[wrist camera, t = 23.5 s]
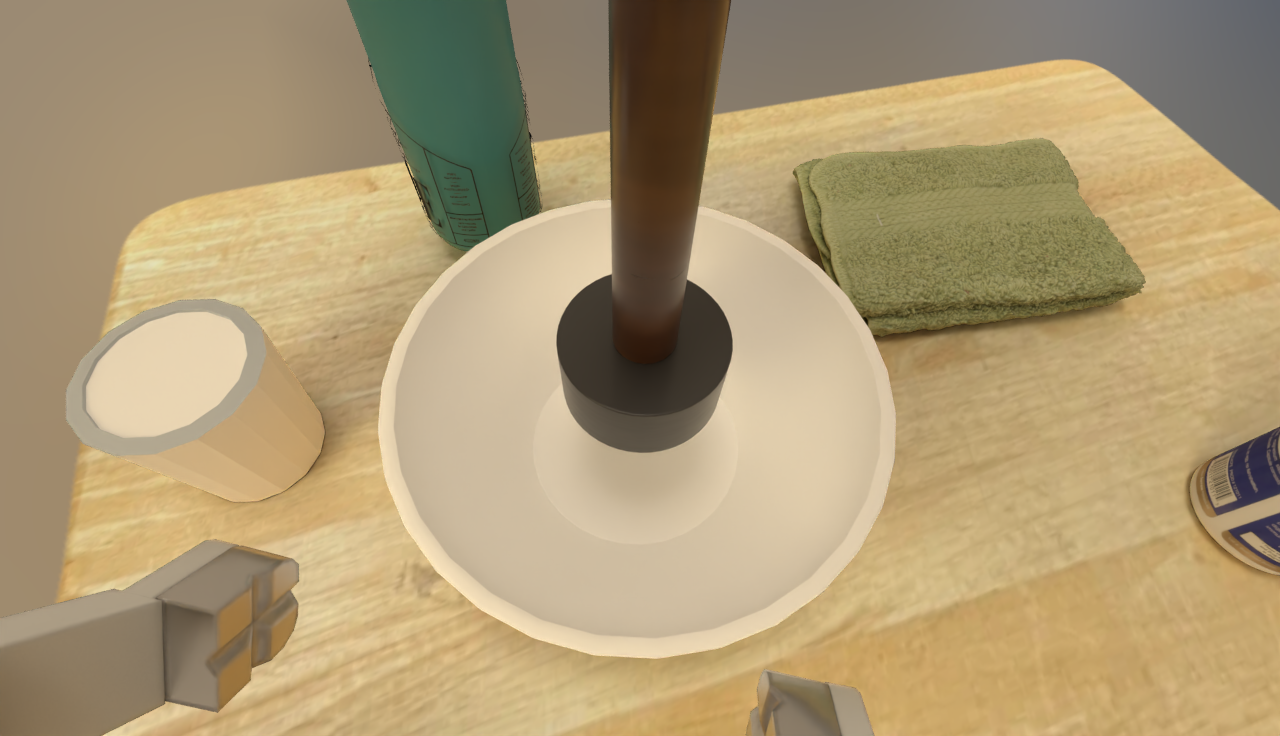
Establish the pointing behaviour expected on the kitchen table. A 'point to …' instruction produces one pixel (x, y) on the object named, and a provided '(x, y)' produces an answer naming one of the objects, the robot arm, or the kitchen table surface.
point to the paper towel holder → (652, 239)
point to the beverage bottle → (455, 110)
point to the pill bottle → (1243, 501)
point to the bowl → (629, 481)
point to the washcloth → (961, 235)
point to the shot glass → (197, 401)
